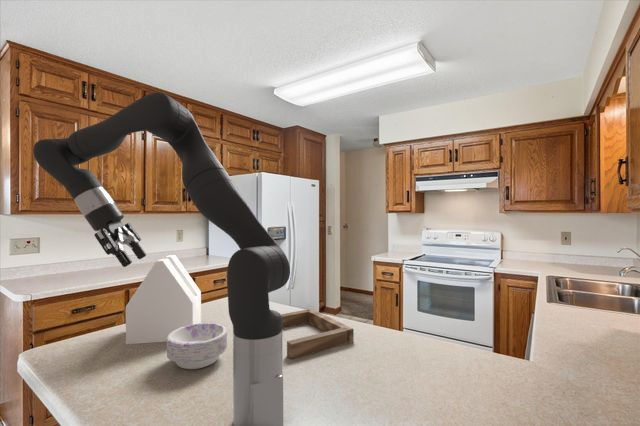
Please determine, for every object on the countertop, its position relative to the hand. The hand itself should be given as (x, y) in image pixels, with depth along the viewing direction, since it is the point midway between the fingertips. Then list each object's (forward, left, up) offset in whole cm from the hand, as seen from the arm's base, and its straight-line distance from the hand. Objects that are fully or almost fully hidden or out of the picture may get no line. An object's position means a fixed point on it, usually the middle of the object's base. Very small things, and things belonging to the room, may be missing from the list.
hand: (136, 261), depth 86 cm
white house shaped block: (+20, -10, -27) cm, 35 cm away
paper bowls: (-8, -14, -27) cm, 32 cm away
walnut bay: (-8, -46, -27) cm, 54 cm away
